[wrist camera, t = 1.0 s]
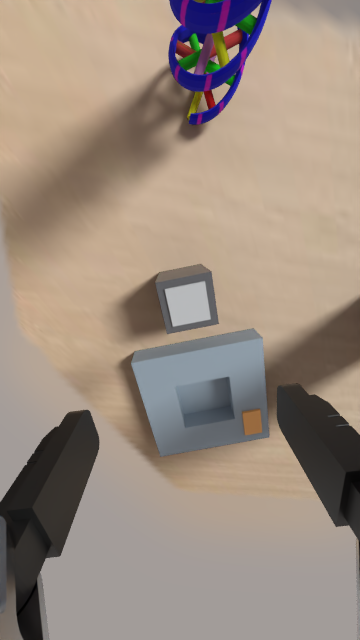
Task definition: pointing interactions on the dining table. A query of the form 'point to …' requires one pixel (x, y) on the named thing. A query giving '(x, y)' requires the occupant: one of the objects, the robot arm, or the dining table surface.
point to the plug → (187, 298)
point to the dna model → (213, 47)
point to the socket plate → (204, 391)
